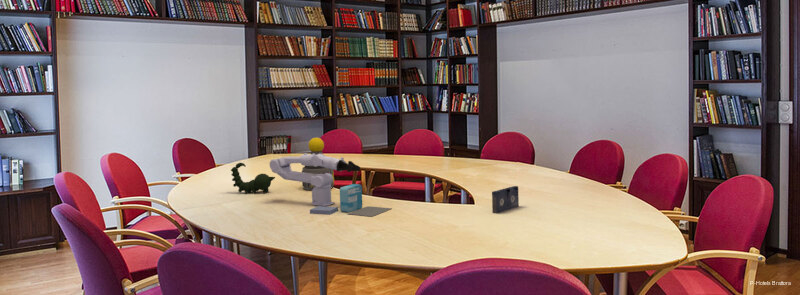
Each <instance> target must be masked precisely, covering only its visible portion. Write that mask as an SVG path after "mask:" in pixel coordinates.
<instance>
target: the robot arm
mask: <svg viewBox="0 0 800 295" xmlns="http://www.w3.org/2000/svg"><path fill="white" fill-rule="evenodd" d="M292 164H301V165H302V166H303V167H305V166H314V167H317V166H322V167H326V168H330V169H333V171H334V170H335V171H337V172H343V171H346V172H347V173H350V172H360V171H361V166H359V165H358V164H355V162H353V161H351V160H348V162H347V161H345V159H344V157H342V156H341V157H340V158H337V157H332V156H327V155H325V154H324V153H322V154H317V155H315V154H311V153H310V154H308V153H307V152H305V153H303V154H301V155H300V156H282V157H279V158H273V159H271V160H270V161H269V169H271V172H272V173H273V174H276V175H278V176H279V177H281V178H282V179H283V180H287V181H293V182H299V183H302V182H305V183H311V185H314V186H316V187H314V188H313V190H312V191H311V200H312V201H311V202H312V203H311V204H310V205H311V206H324V207H329V206H331V205H334V204H335V203H336V202H335V201H332V192H331V191H332V188H331V184H332V182H333V177H332V175H331V174H330V173H325V174H311V173H304V172H302V171H297V170H293V169H292V167H291V166H292Z"/></svg>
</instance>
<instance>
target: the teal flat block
mask: <svg viewBox="0 0 800 295" xmlns="http://www.w3.org/2000/svg"><path fill="white" fill-rule="evenodd" d="M339 203H340V204H339V206H340V207H339V209H340V211H341V212H342V213H351V212H353V211H356V210H359V209H362V208H363V187H362V185H361V184H358V183H357V184H356V183H351V184H349V185H348V184H347V185H344V186H341V187H340V188H339Z"/></svg>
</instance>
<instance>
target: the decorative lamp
mask: <svg viewBox="0 0 800 295" xmlns="http://www.w3.org/2000/svg"><path fill="white" fill-rule="evenodd" d="M307 146H308V149H309V150H310V155H311V154H315V155H317V154H324V153H323V150H324V147H325V143H324V140H322V138H320V137H313V138H311V139H310V140H309V141H308V145H307ZM301 172H304V173H311V174H325V173H330V174H331V175H332V177H333V182H332V184H331V187H332V188H331V189H333V188H334V186H335V177H334V176H335V175H334V174H335V173H334V172H335V171H334V169H330V168H326V167H322V166H317V167H314V166H303V167H302V168H301ZM301 186H302V187H303V190H305V191H310V192H312V190H313V188H314V187H316V186H314V185H311V183H305V182H301Z"/></svg>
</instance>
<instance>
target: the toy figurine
mask: <svg viewBox="0 0 800 295" xmlns="http://www.w3.org/2000/svg"><path fill="white" fill-rule="evenodd" d="M241 167H246V164H245V163H244V162H238V163H236V164H235V166H234V167H232V168H231V169H230V171H231V172H232V173H231V176H232V177H233V178H232V179H231V181H232V182H234V184H232V186H233V187H234V188H235V187H237V188H238V190H237V192H238V193H241V192H244V193H245V194H246V195H247V194H249V193H253V194H256V193H257V192H259V191H262V192H263V193H264V194H266V193H268V192H269V187H270V186H271V184H272V181H273V180H275V178H276V177H275V176H269V175H268V174H266V173H259V174H258V175H256V176H255V178H254V179H250V181H246V182H245V181H243V179H242V177H241V175H240V171H239V168H241Z"/></svg>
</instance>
